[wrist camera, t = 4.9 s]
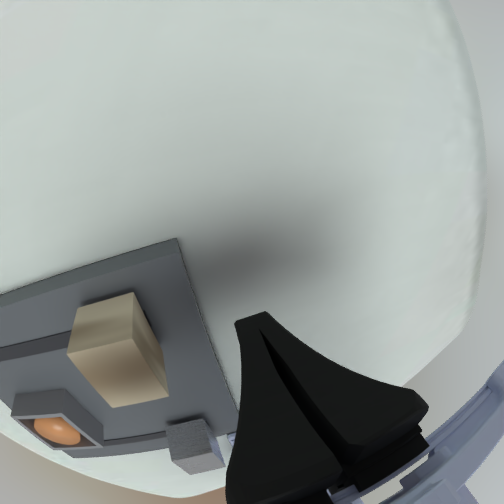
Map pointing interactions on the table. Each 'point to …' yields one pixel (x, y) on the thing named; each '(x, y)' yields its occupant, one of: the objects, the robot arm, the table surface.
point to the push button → (57, 430)
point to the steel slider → (194, 447)
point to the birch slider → (118, 351)
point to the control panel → (77, 386)
